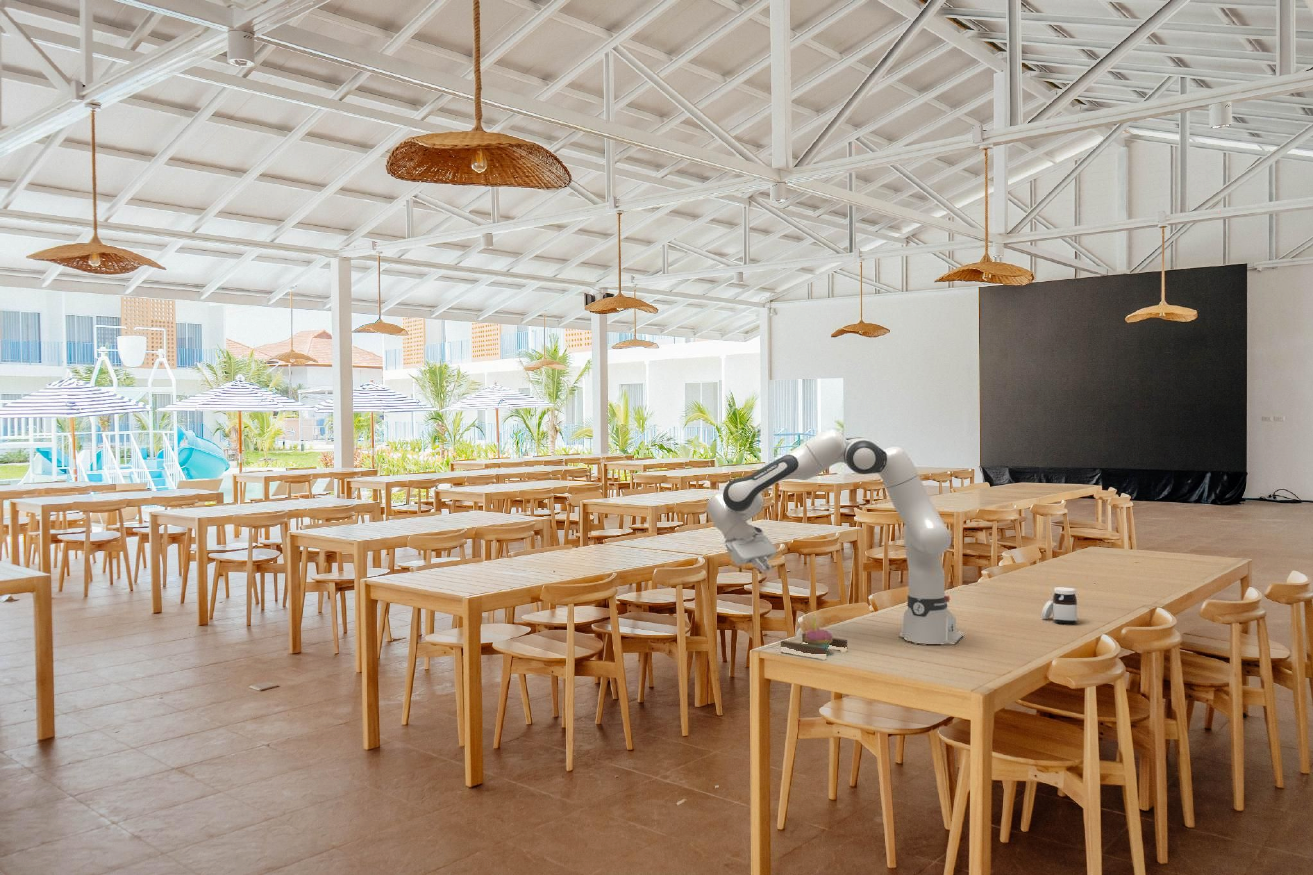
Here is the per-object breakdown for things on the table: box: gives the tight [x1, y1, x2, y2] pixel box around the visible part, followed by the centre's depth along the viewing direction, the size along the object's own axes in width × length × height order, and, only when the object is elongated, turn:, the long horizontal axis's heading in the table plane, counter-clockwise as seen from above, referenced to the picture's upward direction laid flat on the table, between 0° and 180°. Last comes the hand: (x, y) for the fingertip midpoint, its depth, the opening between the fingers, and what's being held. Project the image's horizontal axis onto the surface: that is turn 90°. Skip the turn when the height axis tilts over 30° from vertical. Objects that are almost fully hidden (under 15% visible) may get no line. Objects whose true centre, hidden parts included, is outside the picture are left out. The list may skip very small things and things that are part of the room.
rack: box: [780, 632, 848, 654], centre depth 296 cm, size 14×15×4 cm
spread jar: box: [1040, 586, 1078, 625], centre depth 335 cm, size 12×11×12 cm
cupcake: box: [805, 614, 834, 650], centre depth 295 cm, size 9×8×12 cm
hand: (767, 570), depth 306 cm, fingers closed
